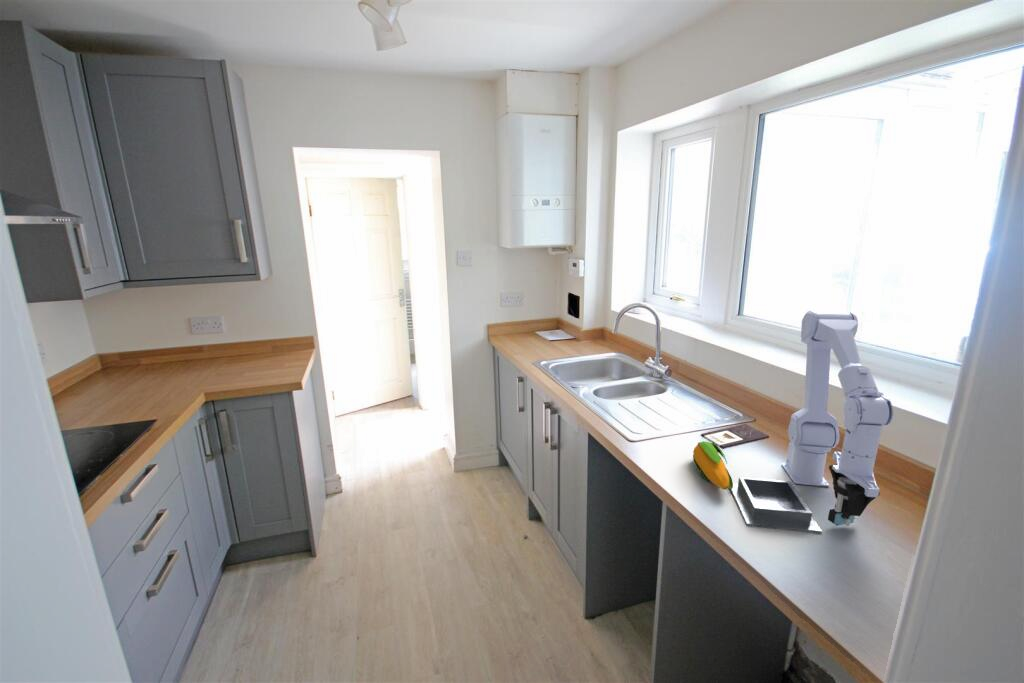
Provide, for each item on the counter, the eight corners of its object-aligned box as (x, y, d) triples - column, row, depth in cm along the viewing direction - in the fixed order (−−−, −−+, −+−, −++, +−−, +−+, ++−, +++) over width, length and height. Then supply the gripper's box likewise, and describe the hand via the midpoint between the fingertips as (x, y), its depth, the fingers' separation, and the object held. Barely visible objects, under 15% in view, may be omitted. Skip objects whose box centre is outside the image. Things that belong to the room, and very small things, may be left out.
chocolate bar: (769, 435, 140) (723, 447, 134) (768, 438, 140) (723, 449, 134) (745, 423, 148) (701, 433, 142) (745, 426, 148) (701, 436, 142)
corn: (715, 433, 127) (745, 472, 108) (715, 457, 129) (743, 500, 110) (688, 434, 128) (712, 473, 109) (688, 458, 130) (711, 501, 111)
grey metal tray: (728, 484, 116) (730, 472, 115) (792, 490, 113) (794, 477, 113) (746, 525, 101) (748, 511, 100) (821, 533, 98) (824, 519, 97)
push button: (845, 512, 103) (852, 472, 101) (867, 526, 98) (876, 485, 96) (820, 516, 102) (827, 476, 99) (842, 531, 97) (850, 489, 94)
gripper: (822, 432, 103) (812, 485, 106) (855, 467, 89) (843, 526, 93) (857, 435, 101) (846, 488, 105) (896, 470, 88) (882, 530, 91)
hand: (847, 506), depth 99 cm, fingers closed on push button, 5 cm apart
